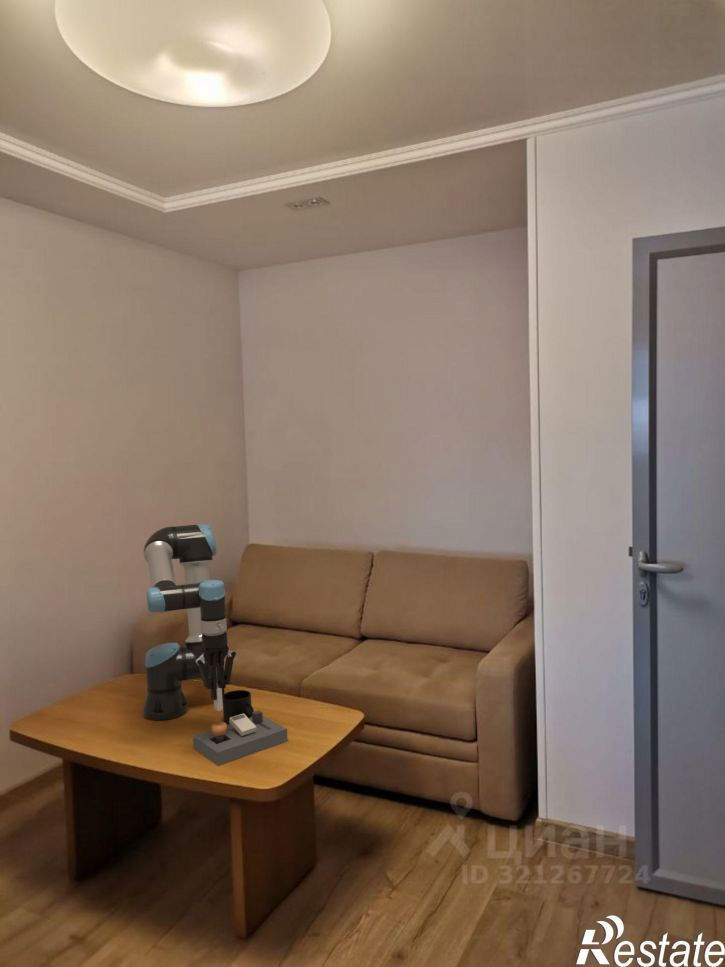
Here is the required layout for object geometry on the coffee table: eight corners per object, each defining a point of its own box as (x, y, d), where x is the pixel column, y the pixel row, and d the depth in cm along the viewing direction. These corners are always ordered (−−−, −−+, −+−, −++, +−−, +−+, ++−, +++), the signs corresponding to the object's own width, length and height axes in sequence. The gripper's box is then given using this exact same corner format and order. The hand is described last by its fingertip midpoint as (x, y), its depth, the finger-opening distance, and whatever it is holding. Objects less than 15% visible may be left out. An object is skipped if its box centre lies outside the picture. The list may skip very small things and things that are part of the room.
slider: (252, 721, 234) (252, 712, 234) (258, 719, 236) (258, 710, 236) (256, 723, 232) (255, 714, 232) (262, 721, 234) (262, 712, 234)
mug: (244, 730, 238) (242, 703, 237) (217, 723, 245) (216, 696, 244) (263, 720, 246) (262, 694, 245) (237, 713, 252) (236, 688, 252)
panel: (193, 748, 226) (192, 732, 225) (260, 726, 241) (260, 711, 240) (218, 765, 213) (217, 748, 213) (287, 741, 228) (286, 725, 228)
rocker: (229, 722, 229) (229, 717, 228) (243, 717, 232) (243, 713, 231) (241, 736, 223) (242, 731, 222) (256, 731, 226) (256, 726, 226)
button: (210, 743, 223) (209, 724, 222) (223, 739, 226) (222, 720, 225) (217, 748, 219) (216, 729, 219) (230, 743, 222) (229, 725, 222)
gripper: (200, 639, 213) (204, 718, 214) (239, 630, 221) (243, 706, 222) (188, 634, 219) (193, 711, 220) (227, 626, 227) (231, 700, 228)
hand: (218, 709), depth 221 cm, fingers closed
